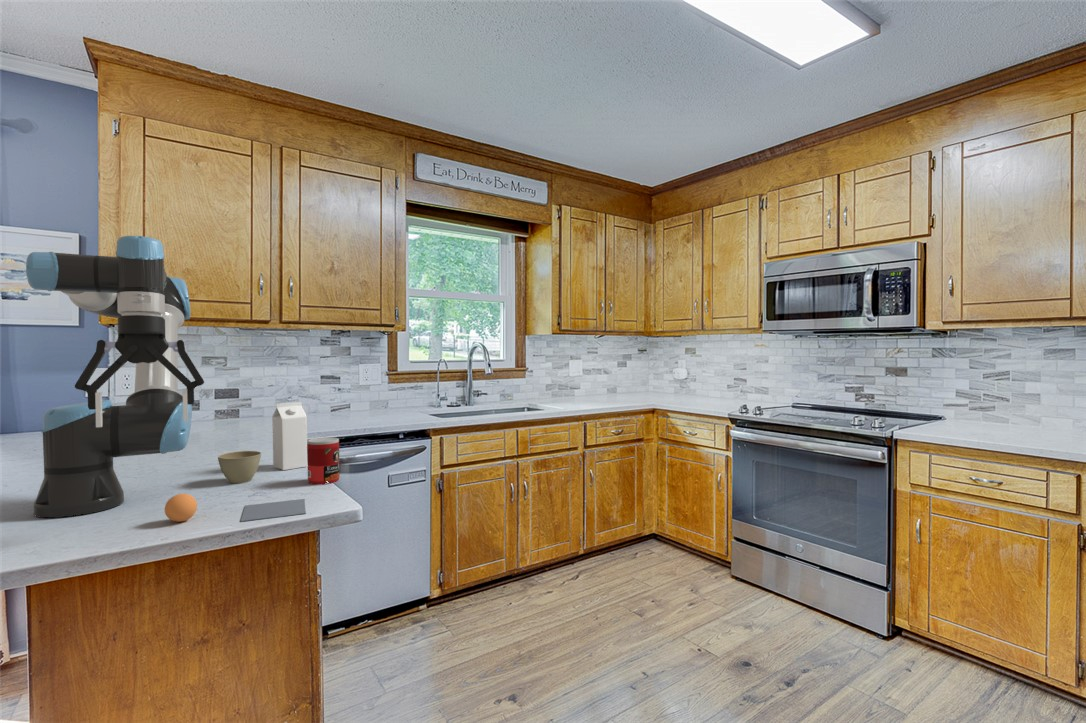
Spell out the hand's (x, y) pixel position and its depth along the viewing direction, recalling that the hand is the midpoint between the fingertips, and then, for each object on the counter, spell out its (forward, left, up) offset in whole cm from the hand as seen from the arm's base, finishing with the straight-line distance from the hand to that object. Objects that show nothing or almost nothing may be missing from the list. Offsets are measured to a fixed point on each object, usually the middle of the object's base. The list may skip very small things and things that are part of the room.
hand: (143, 424), depth 106 cm
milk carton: (+26, +47, -21) cm, 57 cm away
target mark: (+23, +1, -20) cm, 30 cm away
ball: (+6, +1, -18) cm, 18 cm away
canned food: (+34, +24, -21) cm, 46 cm away
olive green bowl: (+14, +34, -21) cm, 42 cm away
